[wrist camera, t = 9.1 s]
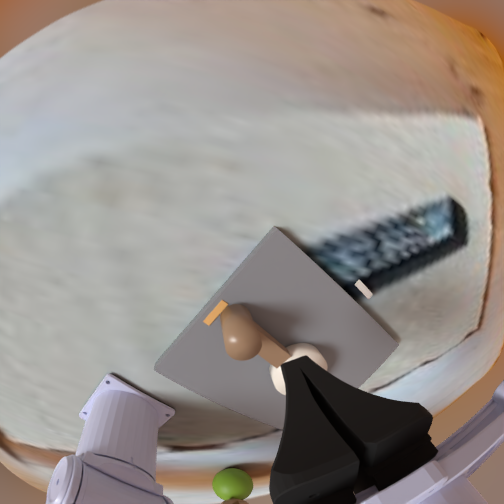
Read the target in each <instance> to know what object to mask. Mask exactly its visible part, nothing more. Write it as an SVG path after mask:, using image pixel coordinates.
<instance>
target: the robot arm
mask: <svg viewBox="0 0 504 504" xmlns="http://www.w3.org/2000/svg"><path fill="white" fill-rule="evenodd" d="M280 367H281V371H282V375H283V379H284V382H285V390H286V410H285V420H284V427H283V433H282V438H281V441H280V445H279V449H278V452H277V455H276V458H275V461H274V463H273V466H272V468H271V476H270V486H269V489H270V495H271V499H272V501H273V504H488V503H487V502H486V500H485V499H484V498H483V497H482V496H481V495H480V493H479V492H478V491H477V490H476V489H475V488H474V486H473V485H472V484H471V483H470V482H469V480H468V479H467V478H468V477H469V476H470V475H471V474H472V473H474V472H475V471H476V470H477V469H478V468H479V467H480V466H481V465H482V464H483V463H484V462H485V461H486V460H487V459H488V458H489V457H490V456H491V455H492V454H493V453H494V451H495V450H496V449H497V448H498V447H499V446H500V445H501V444H502V443H503V442H504V380H503V382H502V383H501V384H500V385H499V386H498V387H497V389H496V391H495V392H494V394H493V396H492V399H491V400H490V401H489V402H488V403H487V404H486V405H485V406H484V407H483V408H482V409H481V410H480V411H479V412H478V413H477V414H475V415H474V416H473V417H472V418H471V419H470V420H469V421H468V422H466V423H465V424H464V425H463V426H462V427H461V428H460V429H458V430H457V431H456V432H455V433H454V434H452V435H451V436H450V437H448V438H447V439H446V440H445V441H443V442H442V443H441V444H439V445H438V446H437V447H435V446H434V445H433V444H432V442H431V437H430V436H429V434H428V431H429V429H430V426H431V424H432V420H433V417H432V415H431V414H430V413H429V412H428V410H426V409H425V408H424V407H423V406H422V405H420V404H419V403H412V402H403V401H396V400H391V399H387V398H383V397H380V396H376V395H373V394H370V393H367V392H365V391H362V390H360V389H358V388H355V387H353V386H351V385H349V384H347V383H346V382H344V381H342V380H340V379H338V378H337V377H335V376H334V375H332V374H331V373H329V372H327V371H326V370H325V369H323V368H322V367H321V366H319V365H318V364H317V363H315V362H314V361H313V360H312V359H310V358H309V357H308V356H306V355H305V356H302V357H299V358H296V359H294V360H291V361H288V362H285V363H282V364H281V366H280ZM108 381H110V382H108ZM174 414H175V410H174V409H173V408H171V407H169V406H167V405H165V404H163V403H161V402H159V401H157V400H155V399H153V398H151V397H150V396H148V395H146V394H144V393H142V392H141V391H139V390H137V389H135V388H134V387H132V386H130V385H128V384H127V383H125V382H123V381H122V380H120V379H119V378H117V377H115V376H114V375H112V374H107V375H106V376H105V378H104V379H103V380H102V382H101V383H100V385H99V386H98V387H97V389H96V390H95V392H94V393H93V394H92V396H91V397H90V399H89V400H88V401H87V403H86V404H85V406H84V407H83V409H82V410H81V412H80V413H79V416H80V418H82V419H83V420H85V421H86V422H85V425H84V428H83V431H82V435H81V438H80V441H79V444H78V448H77V451H76V455H70V456H66V457H63V458H62V459H61V460H60V461H59V463H58V464H57V466H56V468H55V470H54V472H53V474H52V477H51V480H50V483H49V486H48V491H47V501H46V504H174V503H173V502H172V500H171V499H169V498H168V497H166V496H164V495H163V486H162V485H160V484H158V483H156V456H157V439H158V429H159V428H160V427H161V426H162V425H163V424H164V423H166V422H167V421H168V420H169V419H170V418H171V417H172V416H173V415H174ZM353 491H354V493H353ZM354 494H355V495H354Z"/></svg>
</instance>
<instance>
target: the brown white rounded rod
mask: <svg viewBox="0 0 504 504" xmlns="http://www.w3.org/2000/svg"><path fill="white" fill-rule="evenodd" d="M220 322H221V328H222V333H223V339H224V344H225V349H226V352H227V354H228V355H229V356H230V357H231V358H233V359H235V360H239V361H245V360H249V359H251V358H253V357H255V356H256V355H257V354H258V355H259V356H261V357H262V358H263V359H265V360H266V361H267V362H269V363H270V367H269V372H270V376H271V378H272V381H273V383H274V386H275V388H276V389H277V391H278V392H280V393H281V394H283V395H286V390H285V382H284V379H283V375H282V371H281V367H280V366H281V364H282V363H285V362H288V361H291V360H294V359H296V358H299V357H302V356H305V355H306V356H308V357H309V358H310V359H312V360H313V361H314V362H315V363H317V364H318V365H319V366H321V367H322V368H323V369H325V370H326V371H327V369H328V366H327V362H326V361H325V359H324V358H323V356H322V355H321V353H320V352H319V351H318V349H317V348H316V347H315V346H313V345H311V344H307V343H297V344H293V345H290V346H288V347H286V348H285V347H284V346H283V345H282V344H281V343H279V342H278V341H277V340H276V339H275V338H273V337H272V336H271V335H270V334H269V333H267V332H266V331H265V330H264V329H263V328H261V327H260V326H259V325H258V324H257V323H256V322H254V321H253V319H252V316H251V314H250V311H249V310H248V309H247V308H246V307H245V306H243V305H240V304H232V305H229V306H227V307H226V308H225V309H224V310H223V311H222V313H221V315H220Z"/></svg>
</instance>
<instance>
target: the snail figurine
mask: <svg viewBox="0 0 504 504" xmlns="http://www.w3.org/2000/svg"><path fill="white" fill-rule="evenodd" d="M212 486H213V490H214V492H215V493H216V495H217V496H218V497H220V498H221V499H223V500H225V501H223V502H222V503H221V504H248V503H247V502H246V501H244V500H243V499H245V498H247V497H248V496H249V495H250V494H251V492H252V490H253V481H252V479H251V477H250V476H249V475H248V474H247V473H246V472H244V471H242V470H240V469H236V468H228V469H224V470H222V471H220V472H219V473H217V474H216V476H215V477H214V479H213V483H212Z"/></svg>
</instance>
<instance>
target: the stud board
mask: <svg viewBox="0 0 504 504" xmlns="http://www.w3.org/2000/svg"><path fill="white" fill-rule="evenodd" d="M355 286H356V287H357V288H358V289H359V290H360V291H361V292H362V293H363V294H364V295H365V296H366V297H367V298H368V299H369V298H370V297H371V296H372V295H373V294H372V293H371V292H370V291H369V289H368V288H367V287H366V286H365V285H364V284H363V283H362V282H361V281H360V280H358V281H357V282H356V284H355ZM232 304H240V305H243V306H245V307H246V308H247V309H248V310H249V311H250V314H251V316H252V319H253V321H254V322H256V323H257V324H258V325H259V326H260V327H261V328H263V329H264V330H265V331H266V332H267V333H269V334H270V335H271V336H272V337H273V338H275V339H276V340H277V341H278V342H279V343H281V344H282V345H283V346H284V347H285V348H286V347H288V346H290V345H293V344H297V343H307V344H311V345H313V346H315V347H316V348H317V349H318V351H319V352H320V353H321V355H322V356H323V358H324V359H325V361H326V362H327V366H328V369H327V372H329V373H331V374H332V375H334V376H335V377H337V378H338V379H340V380H342V381H344V382H346V383H347V384H349V385H351V386H353V387H355V388H359V387H360V386H361V385H362V384H363V383H364V382H365V381H366V380H367V379H368V378H369V377H370V376H371V375H372V374H373V373H374V372H375V371H376V370H377V369H378V368H379V367H380V366H381V364H382V363H383V362H384V361H385V360H386V359H387V358H388V357H389V356H390V355H391V353H392V352H393V351H394V350H395V349H396V348H397V347H398V345H399V344H398V343H397V342H396V341H395V340H394V339H393V338H392V337H391V336H390V335H389V334H388V333H387V332H386V331H385V330H384V329H383V328H382V327H381V326H380V325H379V324H378V323H377V322H376V321H375V320H374V319H373V318H372V317H371V316H370V315H369V314H368V313H367V312H366V311H365V310H364V309H363V308H362V307H361V306H360V305H359V304H358V303H357V302H356V301H355V300H354V299H353V298H352V297H350V296H349V295H348V294H347V293H346V292H345V291H344V290H343V289H342V288H341V287H340V286H339V285H338V284H337V283H336V282H335V281H334V280H333V279H332V278H331V277H330V276H328V275H327V274H326V273H325V272H324V271H323V270H322V269H321V268H320V267H319V266H318V265H317V264H316V263H315V262H314V261H312V260H311V259H310V258H309V257H308V256H307V255H306V254H305V253H304V252H303V251H302V250H301V249H299V248H298V247H297V246H296V245H295V244H294V243H293V242H292V241H291V240H290V239H289V238H287V237H286V236H285V235H284V234H283V233H282V232H281V231H280V230H279V229H278V228H276V227H273V228H272V229H271V230H270V231H269V232H268V234H267V235H266V236H265V237H264V238H263V239H262V240H261V242H260V243H259V244H258V245H257V246H256V247H255V249H254V250H253V251H252V252H251V253H250V254H249V255H248V257H247V258H246V259H245V260H244V261H243V262H242V264H241V265H240V266H239V267H238V268H237V269H236V270H235V272H234V273H233V274H232V275H231V276H230V277H229V279H228V280H227V281H226V282H225V283H224V284H223V285H222V287H221V288H220V289H219V290H218V291H217V292H216V294H215V295H214V296H213V297H212V298H211V299H210V300H209V302H208V303H207V304H206V305H205V306H204V307H203V309H202V310H201V311H200V312H199V313H198V314H197V315H196V317H195V318H194V319H193V320H192V321H191V322H190V324H189V325H188V326H187V327H186V328H185V329H184V330H183V332H182V333H181V334H180V335H179V336H178V337H177V339H176V340H175V341H174V342H173V343H172V344H171V346H170V347H169V348H168V349H167V350H166V351H165V352H164V354H163V355H162V356H161V357H160V358H159V359H158V361H157V362H156V363H155V366H154V370H155V371H156V372H158V373H160V374H162V375H163V376H165V377H167V378H169V379H170V380H172V381H174V382H176V383H178V384H179V385H181V386H183V387H185V388H187V389H189V390H191V391H193V392H195V393H197V394H199V395H201V396H203V397H205V398H207V399H209V400H211V401H213V402H215V403H217V404H219V405H222V406H224V407H226V408H228V409H230V410H233V411H235V412H237V413H240V414H242V415H244V416H247V417H249V418H252V419H254V420H257V421H259V422H262V423H265V424H267V425H270V426H273V427H275V428H278V429H281V430H283V427H284V420H285V410H286V395H283V394H281V393H280V392H278V391H277V389H276V388H275V386H274V383H273V381H272V378H271V376H270V372H269V367H270V363H269V362H267V361H266V360H265V359H263V358H262V357H261V356H259V355H258V354H257V355H256V356H255V357H253V358H251V359H249V360H245V361H239V360H235V359H233V358H231V357H230V356H229V355H228V354H227V352H226V349H225V344H224V339H223V333H222V328H221V322H220V315H221V313H222V311H223V310H224V309H225V308H226V307H227V306H229V305H232Z"/></svg>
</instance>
